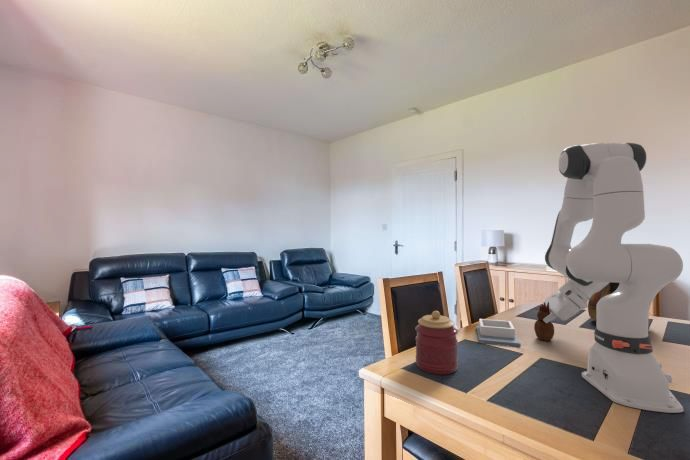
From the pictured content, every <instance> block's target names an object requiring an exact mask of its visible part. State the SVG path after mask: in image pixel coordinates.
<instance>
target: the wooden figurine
mask: <svg viewBox="0 0 690 460" xmlns="http://www.w3.org/2000/svg"><path fill="white" fill-rule="evenodd" d="M543 302H544V301H543ZM550 313H551V312H549V302H548V304H547V307H546V304H545V302H544V303H543V304H541V305H539V308H538V311H537V312H536V317H537V320H535V322H534V325H533V326H534V328H533V329H534V334H535V335H536V338H537V339H539V340H540V341H544V342H550V341H552V340H553V338H554V336H555V326H554V324H553V322H552V321H550V322H548V323H545V322H544V321H543V318H544V317H545V316H548V315H550Z"/></svg>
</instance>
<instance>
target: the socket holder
mask: <svg viewBox="0 0 690 460" xmlns="http://www.w3.org/2000/svg"><path fill="white" fill-rule="evenodd" d="M478 322H479V323H478V325H476V333H477V337H478V338H477V339H478V343H479V342H483V343H482V344H487V343H493V344H492V345H497V344H500V345H501V346H507V345H509V346H510V347H517V348H518V347H520V348H521V341H520V340H519V338H518V336H517V334H516V331H515V330H516V329H515V326H514V325H513V323H512V321H511V320H503V319H502V320H500V319H486V318H485V319H484V318H479V321H478ZM500 345H499V346H500Z"/></svg>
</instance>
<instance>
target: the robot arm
mask: <svg viewBox="0 0 690 460" xmlns="http://www.w3.org/2000/svg"><path fill="white" fill-rule="evenodd" d="M646 162H647V152H646V149H645V148H644V147H643V146H642V145H641V144H639V143H635V142H624V143H621V142H620V143H619V142H611V143H610V142H608V143H605V142H596V143H588V144H581V145H580V144H575V145H571V146H568V147H565V149H563V151H562V152H561V153H560V155H559V159H558V170H559V173H560V174H561V175H562V176H563V177H564V178H567V179H566V182H565V186H564V193H563V198H562V199H563V200H562V204H561V208H560V210H559V211H558V214H557V216H556V220H555V224H554V227H553V232H552V238H551V242H550V244H549V246H548V249H547V250H546V252H545V253H544V254H545V256H544V261H545V263H546V265H547V266H548V267H549V268H551V269H552V270H555V271H557V272H558V273H559V274H561V275H562V276H564V277H566V278H567V279H568V280H567V281H566V282H565V283H564V284H562V285H561V286H560V287H559V288H558V291H556V292H554V293H552V294H551V295H549V296H548V297H546V298H545V299H544V300H543V302H542V304H544V302H545V304H546V307H547V304H548V302H549V312H550V315H548V316H545V317H544V318H543V321H544V322H545V323H548V322H552V321H554V320H556V319H557V318H559V319H560V320H561V321H562V322H564V321H567V320H569V319H571V318H572V317H573V316H575V315H576V314H578V313H579V312H580V310H582V311H583V310H585V309H586V308H588V303H587V302H589V299H590V298H591V296H592V295H593V294H595V293H597V292H599V291H600V290H602V289H603V288H604V287H605V286H607V285H608V284H609V283H610V282H614V283H620V284H619V286H618V288H617V289H616V291H614V292H613V293H612V294H609V295H607V296H604V297H602V298H601V299H600V300H599V301H598V303H597V305H596V320H595V321H596V327H594V332H593V335H594V341H595V342H594V343H593V345H592V346H591V347H590V348H588V355H587V356H588V357H587V368H586V369H587V370H585V371H582V372H581V377H582V378H583V379H584V380H585V381H586V382H588V383H589V384H590V385H591V386H593V387H594V388H596V389H597V390H598V391H599V392H601V393H602V394H603V395H604V396H605V397H607V398H608V399H610V401H612V402H614V403H616V404H620V405H622V406H627V407H630V408H633V409H634V408H635V409H640V410H644V411H651V412H660V413H672V414H673V413H674V414H675V413H683V412H684V407H683V405H682V404H681V403H680V401H679V400H678V398H677V397H676V396H675V395H674V394H673V393H672V392H671V390H670V388H669V387H670V385H669V384H672V382H673V378H672V377H673V376H672V375H671V374H670V373H668V372H666V373H665V372H664V371H663V369H662V366H663V365H662V363H659V362H658V361H657V360H656V357H655V356H654V354H653V351H654V350H653V349H654V348H653V346H652V345H653V342H652V339H651V337H650V335H649V316H650V309H651V305H652V303H653V301H654V299H655V297H656V296H657V295H658V293H659V292H660V291H662V289H663V288H664V287H665V286H667V285H669V284H670V283H672V282H674V281H676V280H677V279H678V278H680V276H681V275H682V272H683V268H684V262H683V259H682V256H681V255H680V253H679V252H678V251H676V249H674V248H672V247H670V246H665V245H658V244H652V243H622V238H623V236H624V235H625V233H627V232H629V231H631V230H633V229H635V228H638V227H639V226H641V224H643V222H644V220H645V219H646V211H645V198H644V195H645V194H644V184H643V179H642V175H641V171H642V170H643V169H644V167H645V165H646ZM589 220H592V224H591V227H590V230H589V231H588V233H587V234H586V236H585V237H584V239H583V240H581V241H580V242H579V243H578V244H576V245H575V246H574V247H572V246H571V242H572V238H573V235H574V230H575V227H576V226H577V224H579V223H583V222H587V221H589Z"/></svg>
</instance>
